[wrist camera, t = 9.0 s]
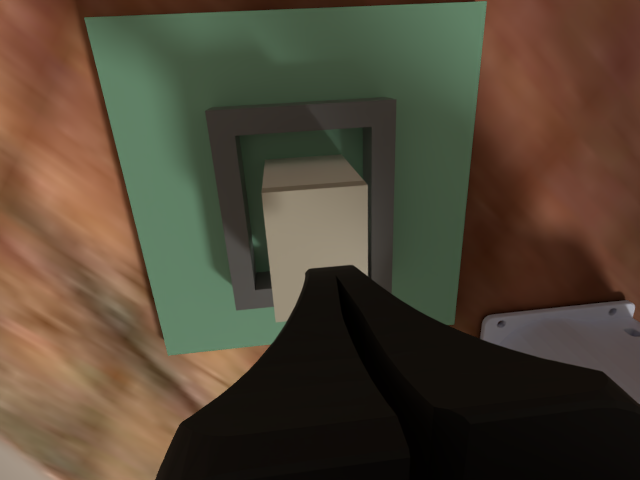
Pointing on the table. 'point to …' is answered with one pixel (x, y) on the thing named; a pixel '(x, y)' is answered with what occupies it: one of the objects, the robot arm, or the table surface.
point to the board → (289, 147)
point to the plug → (312, 221)
